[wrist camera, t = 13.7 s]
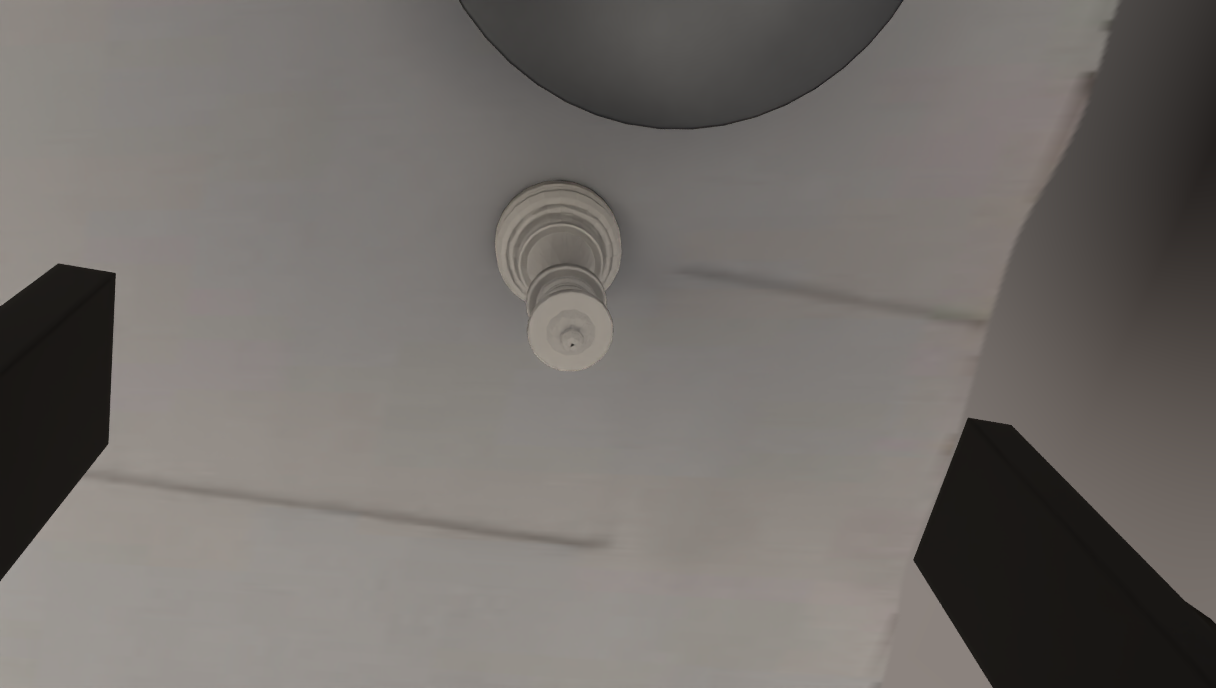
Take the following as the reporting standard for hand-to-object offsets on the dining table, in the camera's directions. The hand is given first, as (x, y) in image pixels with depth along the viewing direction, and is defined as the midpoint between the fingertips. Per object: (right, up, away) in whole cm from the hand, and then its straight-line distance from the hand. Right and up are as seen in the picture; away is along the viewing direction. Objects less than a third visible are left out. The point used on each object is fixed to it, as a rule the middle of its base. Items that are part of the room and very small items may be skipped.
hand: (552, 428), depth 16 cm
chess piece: (-1, +5, +21) cm, 21 cm away
